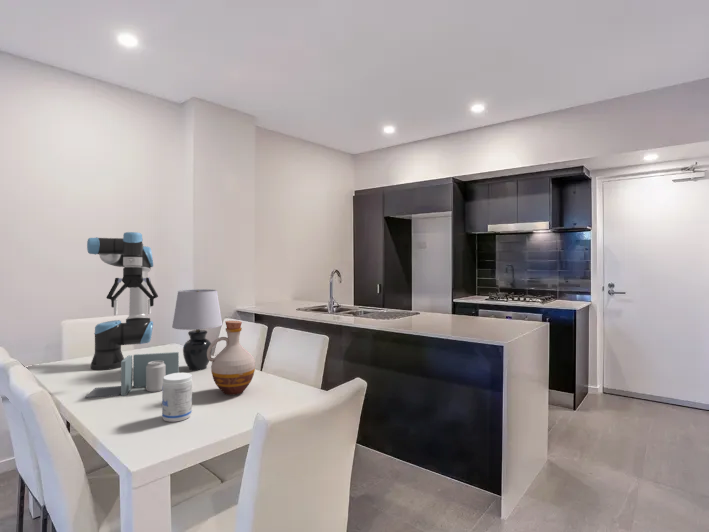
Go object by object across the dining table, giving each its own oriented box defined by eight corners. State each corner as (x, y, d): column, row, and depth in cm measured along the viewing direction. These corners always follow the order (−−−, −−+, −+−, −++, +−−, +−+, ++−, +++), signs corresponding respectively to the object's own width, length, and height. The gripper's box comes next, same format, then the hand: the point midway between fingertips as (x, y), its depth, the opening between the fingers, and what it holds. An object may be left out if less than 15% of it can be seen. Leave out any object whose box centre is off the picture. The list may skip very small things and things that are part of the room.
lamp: (228, 370, 203) (228, 291, 202) (177, 377, 189) (177, 293, 189) (215, 360, 223) (215, 288, 222) (168, 366, 209) (168, 290, 209)
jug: (209, 402, 156) (209, 325, 156) (203, 389, 172) (204, 319, 172) (259, 395, 165) (260, 322, 165) (250, 383, 181) (250, 317, 181)
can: (157, 393, 167) (157, 364, 167) (141, 392, 169) (141, 363, 168) (169, 387, 174) (169, 360, 174) (154, 386, 176) (154, 359, 176)
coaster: (95, 389, 172) (95, 387, 172) (126, 386, 175) (126, 385, 175) (85, 398, 161) (85, 396, 161) (119, 395, 164) (119, 394, 164)
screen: (129, 386, 176) (128, 354, 176) (178, 382, 181) (178, 352, 181) (121, 395, 164) (121, 361, 163) (174, 391, 169) (174, 358, 169)
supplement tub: (157, 417, 141) (157, 376, 141) (183, 410, 148) (183, 370, 148) (170, 425, 135) (170, 381, 135) (197, 417, 142) (197, 375, 142)
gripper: (98, 266, 173) (98, 316, 173) (161, 266, 179) (161, 314, 179) (104, 267, 180) (104, 314, 180) (164, 266, 187) (164, 312, 186)
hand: (132, 314), depth 179 cm, fingers open, 13 cm apart
